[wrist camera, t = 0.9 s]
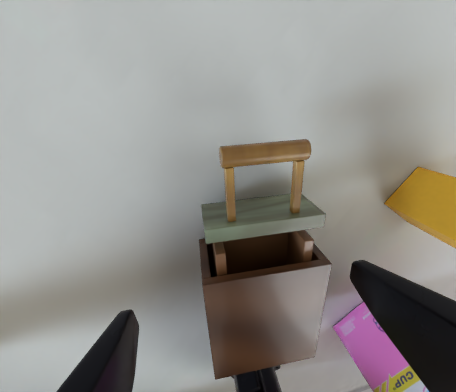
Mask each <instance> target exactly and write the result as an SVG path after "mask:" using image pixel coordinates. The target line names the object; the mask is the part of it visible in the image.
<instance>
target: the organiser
mask: <svg viewBox="0 0 456 392" xmlns="http://www.w3.org/2000/svg"><path fill="white" fill-rule="evenodd" d="M199 246H200V259H201V273H202V286H203V293H204V301H205V308H206V315H207V323H208V330H209V337H210V345H211V352H212V360H213V367H214V374H215V379H220V378H225V377H229V376H234V375H238V374H242V373H247V372H251V371H256V370H260V369H264V368H269V367H273V366H278V365H282V364H287V363H291V362H295V361H300V360H304V359H309V358H313V357H315V352H316V347H317V342H318V336H319V331H320V325H321V320H322V315H323V309H324V304H325V299H326V293H327V288H328V282H329V277H330V272H331V266H332V263H331V262H330V261H329V260H328V259H327V258H326V257H325V256H324V254H323V253H322V252H321V251H320V250H319V249H318V248H317V246H316V245H315V244H314V243H313V250H312V258H311V261H309V262H302V263H296V264H290V265H284V266H278V267H272V268H266V269H260V270H254V271H248V272H242V273H235V274H229V275H223V276H217V277H215V267H214V257H213V247H212V243H210V244H206V241H205V239H200V240H199Z"/></svg>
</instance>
